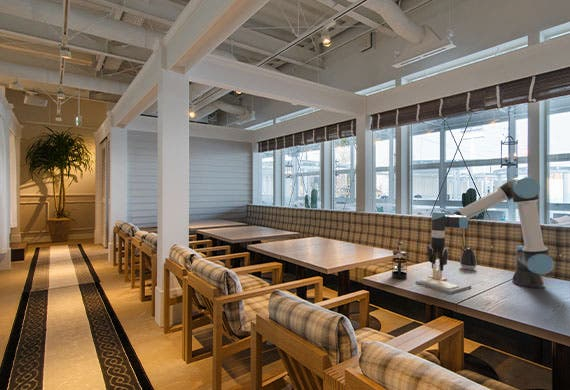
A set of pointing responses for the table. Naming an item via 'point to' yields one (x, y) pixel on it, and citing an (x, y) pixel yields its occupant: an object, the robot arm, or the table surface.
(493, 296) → the table surface
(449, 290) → the board
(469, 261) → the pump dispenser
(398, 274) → the french press
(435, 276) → the stub
